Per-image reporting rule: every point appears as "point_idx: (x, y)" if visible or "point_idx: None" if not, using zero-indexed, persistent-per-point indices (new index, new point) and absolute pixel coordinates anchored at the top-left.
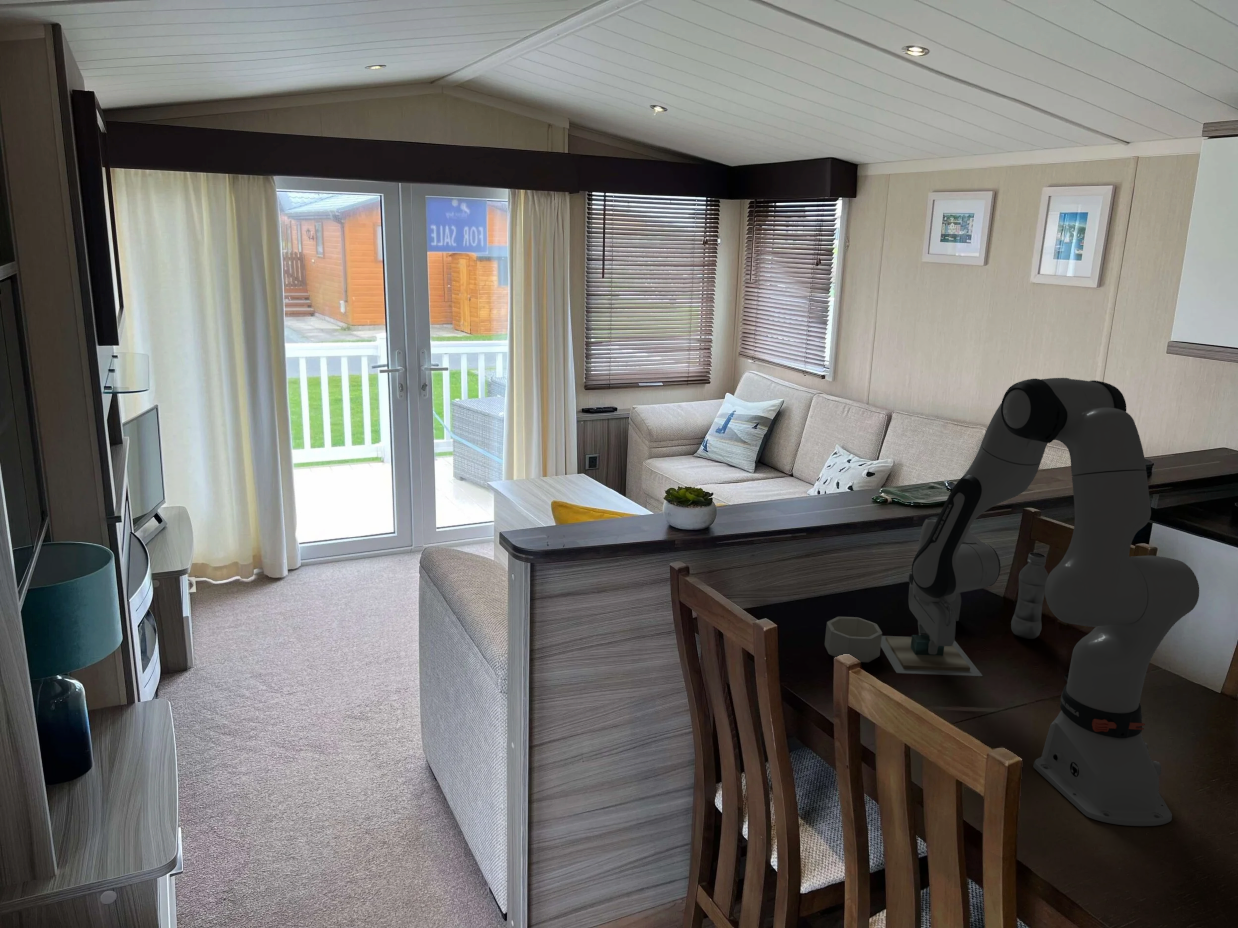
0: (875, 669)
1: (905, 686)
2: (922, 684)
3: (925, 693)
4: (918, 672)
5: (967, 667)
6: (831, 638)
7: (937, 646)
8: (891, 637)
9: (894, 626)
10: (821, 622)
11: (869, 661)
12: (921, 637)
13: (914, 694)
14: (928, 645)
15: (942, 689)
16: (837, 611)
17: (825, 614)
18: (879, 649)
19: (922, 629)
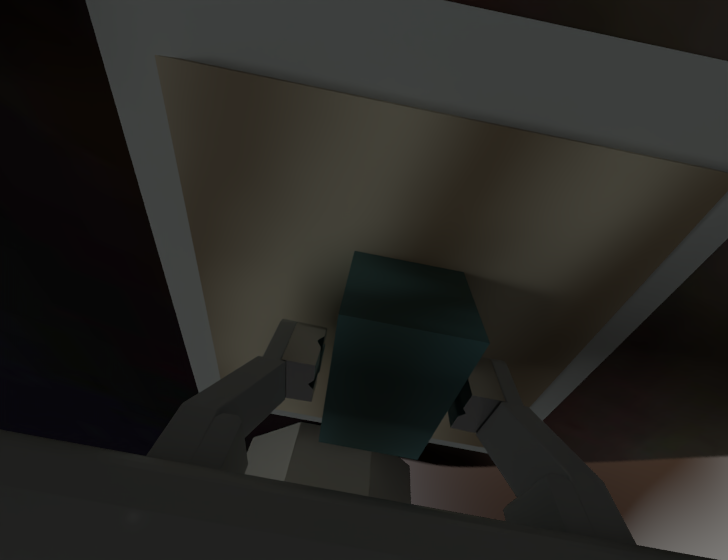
0: (443, 464)
1: (582, 454)
2: (606, 417)
3: (667, 436)
4: (538, 410)
5: (717, 199)
6: None
7: (532, 417)
8: None
9: (37, 278)
10: (132, 448)
11: (406, 473)
12: (358, 420)
13: (645, 457)
14: (476, 431)
15: (697, 383)
16: (10, 395)
17: (62, 425)
18: (373, 476)
19: (262, 406)
